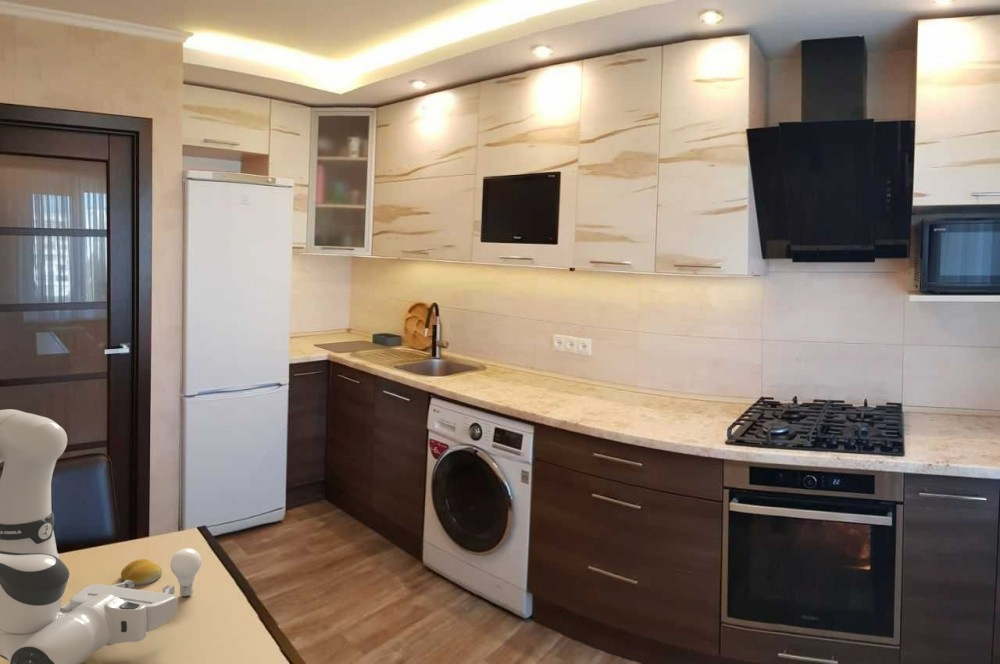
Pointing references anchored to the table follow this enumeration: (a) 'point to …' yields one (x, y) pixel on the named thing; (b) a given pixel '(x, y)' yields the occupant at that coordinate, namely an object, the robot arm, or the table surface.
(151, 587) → the table surface
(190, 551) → the lightbulb
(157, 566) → the bread roll
